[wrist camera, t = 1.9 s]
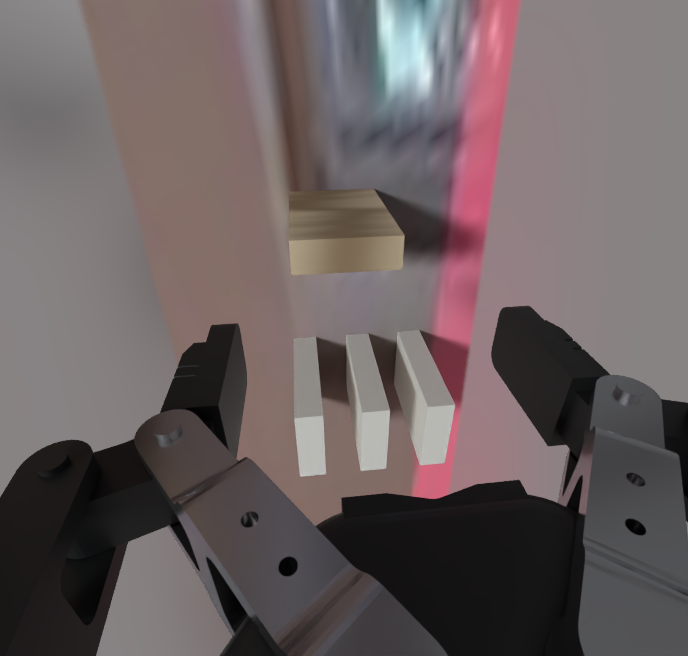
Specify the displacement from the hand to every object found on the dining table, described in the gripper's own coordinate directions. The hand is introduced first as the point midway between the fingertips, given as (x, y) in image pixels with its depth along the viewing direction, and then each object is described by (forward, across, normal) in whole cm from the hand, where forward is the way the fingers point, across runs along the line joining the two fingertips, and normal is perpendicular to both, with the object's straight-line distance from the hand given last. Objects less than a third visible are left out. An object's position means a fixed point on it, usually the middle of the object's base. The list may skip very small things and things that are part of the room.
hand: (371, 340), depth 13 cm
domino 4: (+15, -5, +12) cm, 19 cm away
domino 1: (+15, +2, +12) cm, 19 cm away
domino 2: (+14, 0, 0) cm, 15 cm away
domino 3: (+15, -2, +12) cm, 19 cm away
